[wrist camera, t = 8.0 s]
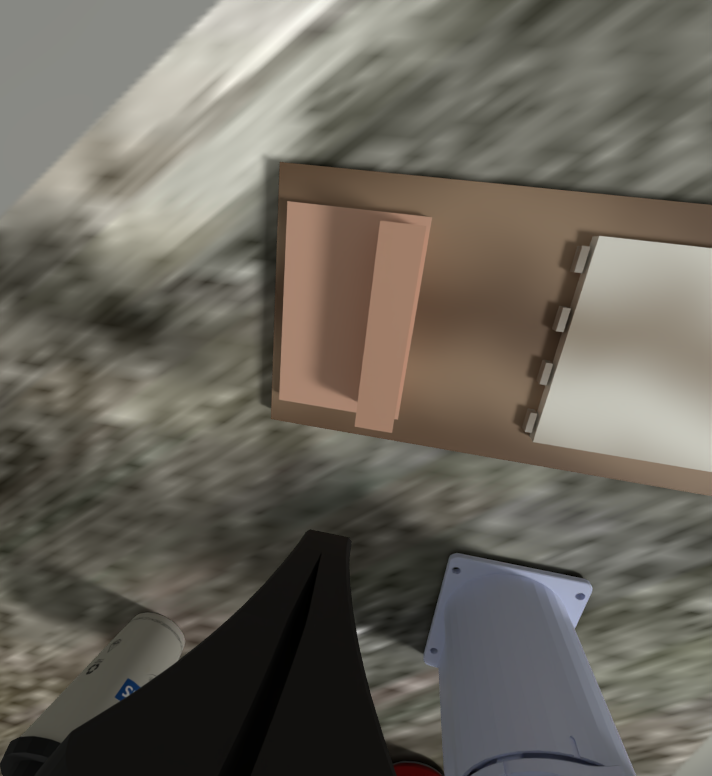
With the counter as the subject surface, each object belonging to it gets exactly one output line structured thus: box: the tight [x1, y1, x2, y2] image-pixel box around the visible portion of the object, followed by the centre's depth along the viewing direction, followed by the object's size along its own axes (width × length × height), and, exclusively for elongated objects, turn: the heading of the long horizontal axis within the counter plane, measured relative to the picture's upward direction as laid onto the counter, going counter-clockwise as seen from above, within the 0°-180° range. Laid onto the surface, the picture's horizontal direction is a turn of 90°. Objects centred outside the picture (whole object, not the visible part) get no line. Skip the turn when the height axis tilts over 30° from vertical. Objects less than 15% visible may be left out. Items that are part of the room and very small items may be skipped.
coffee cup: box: [0, 612, 185, 776], centre depth 25 cm, size 7×7×10 cm
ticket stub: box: [279, 201, 432, 433], centre depth 16 cm, size 9×6×3 cm, turn 174°
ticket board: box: [271, 162, 712, 496], centre depth 17 cm, size 12×24×2 cm, turn 84°
